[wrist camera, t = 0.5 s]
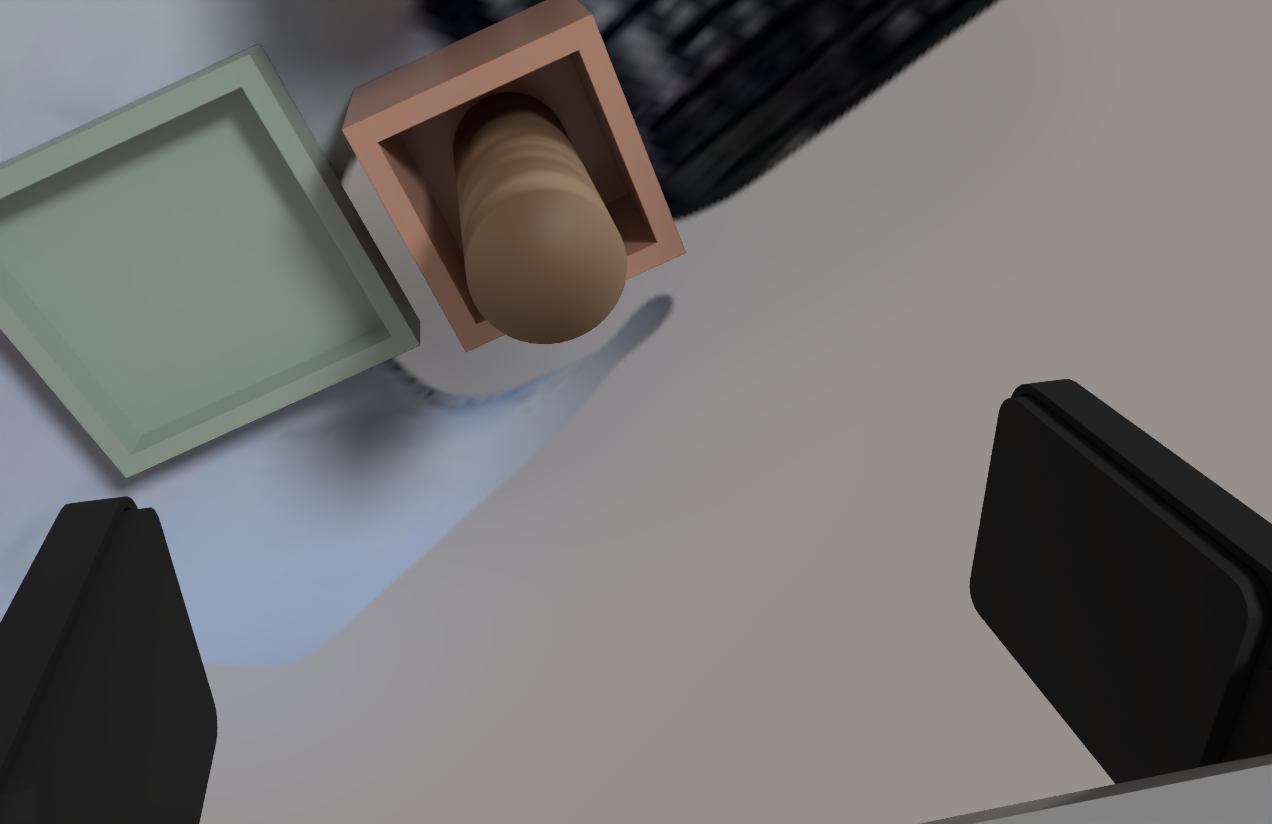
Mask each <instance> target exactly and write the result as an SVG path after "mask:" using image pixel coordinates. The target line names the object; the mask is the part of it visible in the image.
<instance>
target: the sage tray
mask: <svg viewBox="0 0 1272 824" xmlns="http://www.w3.org/2000/svg"><path fill="white" fill-rule="evenodd" d="M0 329H1V330H2V331H3V333H4V334H5V335H6V336H7V337H8V339H9V340H10V341H11V342H12V343H13V345H14V346H15V347H16V348H17V349H18V350H19V352H20V353H21V354H22V355H23V356H24V358H25V359H26V360H27V361H28V362H29V364H30V365H31V366H32V367H33V368H34V369H35V371H36V372H37V373H38V374H39V375H40V377H41V378H42V379H43V380H44V381H45V382H46V384H47V385H48V386H49V387H50V388H51V390H52V391H53V392H54V393H55V394H56V396H57V397H58V398H59V399H60V400H61V401H62V403H63V404H64V405H65V406H66V407H67V409H68V410H69V411H70V412H71V413H72V415H73V416H74V417H75V418H76V419H77V420H78V422H79V423H80V424H81V425H82V426H83V428H84V429H85V430H86V431H87V432H88V434H89V435H90V436H91V437H92V438H93V439H94V441H95V442H96V443H97V444H98V445H99V447H100V448H101V449H102V450H103V451H104V452H105V454H106V455H107V456H108V457H109V458H110V460H111V461H112V462H113V463H114V464H115V466H116V467H117V468H118V469H119V470H120V471H121V473H122V474H123V475H124V476H125V477H126V478H128V477H130V476H133V475H135V474H137V473H139V472H141V471H144V470H146V469H148V468H150V467H152V466H155V465H157V464H159V463H161V462H163V461H166V460H168V459H170V458H172V457H175V456H177V455H179V454H181V453H183V452H186V451H188V450H190V449H192V448H194V447H197V446H199V445H201V444H203V443H205V442H208V441H210V440H212V439H214V438H217V437H219V436H221V435H223V434H225V433H228V432H230V431H232V430H234V429H236V428H239V427H241V426H243V425H245V424H247V423H250V422H252V421H254V420H256V419H258V418H261V417H263V416H265V415H267V414H270V413H272V412H274V411H276V410H278V409H281V408H283V407H285V406H287V405H289V404H292V403H294V402H296V401H298V400H300V399H303V398H305V397H307V396H309V395H311V394H314V393H316V392H318V391H320V390H323V389H325V388H327V387H329V386H331V385H334V384H336V383H338V382H340V381H342V380H345V379H347V378H349V377H351V376H353V375H356V374H358V373H360V372H362V371H364V370H367V369H369V368H371V367H373V366H376V365H378V364H380V363H382V362H384V361H387V360H389V359H391V358H393V357H395V356H398V355H400V354H402V353H404V352H406V351H409V350H411V349H413V348H415V347H418V346H420V320H419V319H418V317H417V315H416V313H415V312H414V310H413V308H412V306H411V305H410V303H409V301H408V299H407V298H406V296H405V294H404V293H403V291H402V289H401V287H400V286H399V284H398V282H397V280H396V279H395V277H394V275H393V274H392V272H391V270H390V268H389V267H388V265H387V263H386V261H385V260H384V258H383V256H382V254H381V253H380V251H379V249H378V247H377V246H376V244H375V242H374V241H373V239H372V237H371V236H370V234H369V232H368V230H367V228H366V227H365V225H364V223H363V221H362V220H361V218H360V216H359V215H358V213H357V211H356V210H355V208H354V206H353V204H352V202H351V201H350V199H349V197H348V196H347V194H346V192H345V190H344V189H343V187H342V185H341V183H340V182H339V180H338V178H337V176H336V175H335V173H334V171H333V169H332V168H331V166H330V164H329V163H328V161H327V159H326V157H325V156H324V154H323V152H322V150H321V149H320V147H319V145H318V143H317V142H316V140H315V138H314V137H313V135H312V133H311V131H310V130H309V128H308V126H307V124H306V123H305V121H304V119H303V117H302V116H301V114H300V112H299V111H298V109H297V107H296V105H295V104H294V102H293V100H292V98H291V97H290V95H289V93H288V91H287V90H286V88H285V86H284V85H283V83H282V81H281V79H280V78H279V76H278V74H277V72H276V71H275V69H274V67H273V65H272V64H271V62H270V60H269V59H268V57H267V55H266V53H265V52H264V50H263V48H262V46H261V45H260V43H259V44H257V45H255V46H252V47H250V48H248V49H246V50H244V51H242V52H239V53H237V54H235V55H233V56H231V57H229V58H227V59H224V60H222V61H220V62H218V63H216V64H214V65H212V66H209V67H207V68H205V69H203V70H201V71H199V72H197V73H194V74H192V75H190V76H188V77H186V78H184V79H181V80H179V81H177V82H175V83H173V84H171V85H169V86H166V87H164V88H162V89H160V90H158V91H156V92H154V93H151V94H149V95H147V96H145V97H143V98H141V99H138V100H136V101H134V102H132V103H130V104H128V105H126V106H123V107H121V108H119V109H117V110H115V111H113V112H111V113H108V114H106V115H104V116H102V117H100V118H98V119H96V120H93V121H91V122H89V123H87V124H85V125H83V126H80V127H78V128H76V129H74V130H72V131H70V132H68V133H65V134H63V135H61V136H59V137H57V138H55V139H53V140H50V141H48V142H46V143H44V144H42V145H40V146H37V147H35V148H33V149H31V150H29V151H27V152H25V153H22V154H20V155H18V156H16V157H14V158H12V159H10V160H7V161H5V162H3V163H1V164H0Z"/></svg>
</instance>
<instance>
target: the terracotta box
mask: <svg viewBox="0 0 1272 824" xmlns="http://www.w3.org/2000/svg"><path fill="white" fill-rule="evenodd" d="M503 92H517V93H523V94H526V95H529V96H532V97H534V98H536V99H538V100H540V101H541V102H543V103H544V104H546V105H547V106H548V107H549V108H550V109H551V110H552V111H553V112H554V113H555V114H556V116H557V117H558V119H559V120H560V122H561V124H562V126H563V128H564V129H565V131H566V133H567V135H568V137H569V139H570V141H571V143H572V144H573V146H574V148H575V150H576V152H577V154H578V156H579V158H580V160H581V161H582V163H583V165H584V167H585V169H586V171H587V173H588V175H589V177H590V178H591V180H592V182H593V184H594V186H595V188H596V190H597V192H598V194H599V195H600V197H601V199H602V201H603V203H604V205H605V207H606V209H607V210H608V212H609V214H610V216H611V218H612V220H613V222H614V224H615V226H616V227H617V229H618V231H619V233H620V235H621V237H622V240H623V243H624V246H625V251H626V256H627V275H626V280H627V279H629V278H631V277H633V276H636V275H638V274H640V273H643V272H645V271H647V270H649V269H651V268H653V267H656V266H658V265H660V264H662V263H665V262H667V261H669V260H671V259H674V258H676V257H678V256H680V255H682V254H685V253H686V251H685V249H684V246H683V244H682V241H681V238H680V236H679V233H678V231H677V228H676V226H675V223H674V221H673V218H672V216H671V213H670V211H669V208H668V205H667V203H666V200H665V198H664V195H663V193H662V190H661V188H660V185H659V183H658V180H657V178H656V175H655V172H654V170H653V167H652V165H651V162H650V160H649V157H648V155H647V152H646V150H645V147H644V145H643V142H642V139H641V137H640V134H639V132H638V129H637V127H636V124H635V122H634V119H633V117H632V114H631V112H630V109H629V106H628V104H627V101H626V99H625V96H624V94H623V91H622V89H621V86H620V84H619V81H618V79H617V76H616V74H615V71H614V68H613V66H612V63H611V61H610V58H609V56H608V53H607V51H606V48H605V46H604V43H603V41H602V38H601V35H600V33H599V30H598V28H597V25H596V23H595V20H594V18H593V15H592V14H591V13H590V12H589V11H588V10H587V9H586V8H585V7H584V6H582V5H581V4H580V3H579V2H578V1H577V0H546V1H543V2H541V3H539V4H537V5H535V6H533V7H530V8H528V9H526V10H524V11H522V12H520V13H517V14H515V15H513V16H511V17H509V18H507V19H504V20H502V21H500V22H498V23H496V24H494V25H492V26H489V27H487V28H485V29H483V30H481V31H479V32H476V33H474V34H472V35H470V36H468V37H466V38H463V39H461V40H459V41H457V42H455V43H453V44H450V45H448V46H446V47H444V48H442V49H440V50H437V51H435V52H433V53H431V54H429V55H427V56H424V57H422V58H420V59H418V60H416V61H414V62H411V63H409V64H407V65H405V66H403V67H401V68H398V69H396V70H394V71H392V72H390V73H388V74H386V75H383V76H381V77H379V78H377V79H375V80H373V81H370V82H368V83H366V84H364V85H362V86H360V87H357V88H355V89H354V91H353V94H352V98H351V101H350V104H349V107H348V111H347V114H346V117H345V120H344V124H343V127H342V131H343V133H344V135H345V136H346V138H347V140H348V142H349V144H350V145H351V147H352V149H353V151H354V153H355V154H356V156H357V158H358V160H359V162H360V163H361V165H362V167H363V169H364V170H365V172H366V174H367V176H368V178H369V179H370V181H371V183H372V185H373V186H374V188H375V190H376V192H377V194H378V196H379V197H380V199H381V201H382V202H383V204H384V206H385V208H386V210H387V212H388V213H389V215H390V217H391V219H392V220H393V222H394V224H395V226H396V228H397V229H398V231H399V233H400V235H401V236H402V238H403V240H404V242H405V244H406V246H407V247H408V249H409V251H410V253H411V254H412V256H413V258H414V260H415V261H416V263H417V265H418V267H419V269H420V270H421V272H422V274H423V276H424V278H425V279H426V281H427V283H428V285H429V287H430V288H431V290H432V292H433V294H434V296H435V297H436V299H437V301H438V302H439V305H440V306H441V308H442V310H443V312H444V314H445V315H446V317H447V319H448V321H449V323H450V324H451V326H452V328H453V330H454V331H455V333H456V335H457V337H458V339H459V340H460V342H461V344H462V346H463V348H464V349H465V351H466V352H468V351H470V350H472V349H474V348H477V347H479V346H481V345H483V344H485V343H488V342H490V341H492V340H494V339H496V338H498V337H501V336H503V335H505V334H504V333H502V332H501V331H499V330H498V329H496V328H495V327H493V326H492V325H491V324H490V323H489V322H488V321H487V320H486V319H485V318H484V317H483V316H482V314H481V313H480V312H479V310H478V309H477V307H476V306H475V304H474V302H473V300H472V298H471V295H470V292H469V289H468V286H467V280H466V272H465V262H464V252H463V243H462V233H461V223H460V214H459V204H458V194H457V184H456V175H455V165H454V155H453V143H454V136H455V132H456V129H457V127H458V124H459V122H460V121H461V119H462V117H463V116H464V115H465V113H466V112H467V111H468V110H469V109H470V108H471V107H472V106H473V105H474V104H476V103H477V102H478V101H480V100H482V99H483V98H485V97H488V96H490V95H493V94H497V93H503Z"/></svg>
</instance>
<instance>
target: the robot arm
mask: <svg viewBox="0 0 1272 824" xmlns="http://www.w3.org/2000/svg"><path fill="white" fill-rule="evenodd" d="M970 594H971V598H972V602H973V604H974V607H975V609H976V610H977V612H978V613H979V615H980V616H981V617H982V619H983V620H984V621H985V622H986V624H987V625H988V626H989V627H990V629H991V630H992V631H993V632H994V634H995V635H996V636H997V637H998V639H999V640H1000V641H1001V642H1002V643H1003V645H1004V646H1005V647H1006V649H1007V650H1008V651H1009V652H1010V653H1011V655H1012V656H1013V657H1014V658H1015V660H1016V661H1017V662H1018V663H1019V664H1020V666H1021V667H1022V668H1023V670H1024V671H1025V672H1026V673H1027V675H1028V676H1029V677H1030V678H1031V679H1032V681H1033V682H1034V683H1035V684H1036V686H1037V687H1038V688H1039V689H1040V691H1041V692H1042V693H1043V694H1044V696H1045V697H1046V698H1047V699H1048V701H1049V702H1050V703H1051V704H1052V705H1053V707H1054V708H1055V709H1056V711H1057V712H1058V713H1059V714H1060V715H1061V717H1062V718H1063V719H1064V720H1065V722H1066V723H1067V724H1068V725H1069V727H1070V728H1071V729H1072V730H1073V732H1074V733H1075V734H1076V735H1077V737H1078V738H1079V739H1080V740H1081V741H1082V743H1083V744H1084V745H1085V747H1086V748H1087V749H1088V750H1089V751H1090V753H1091V754H1092V755H1093V757H1094V758H1095V759H1096V760H1097V761H1098V763H1099V764H1100V765H1101V766H1102V768H1103V769H1104V770H1105V771H1106V772H1107V774H1108V775H1109V776H1110V778H1111V779H1112V780H1113V781H1114V783H1115V784H1114V785H1109V786H1104V787H1100V788H1094V789H1089V790H1084V791H1079V792H1074V793H1069V794H1064V795H1059V796H1054V797H1049V798H1044V799H1039V800H1034V801H1029V802H1025V803H1019V804H1014V805H1009V806H1004V807H1000V808H994V809H989V810H984V811H980V812H975V813H970V814H965V815H960V816H955V817H950V818H946V819H941V820H936V821H931V822H927V823H921V824H1272V524H1271V523H1270V522H1268V521H1267V520H1265V519H1264V518H1263V517H1261V516H1260V515H1259V514H1257V513H1256V512H1254V511H1253V510H1252V509H1250V508H1249V507H1248V506H1246V505H1245V504H1243V503H1242V502H1241V501H1239V500H1238V499H1236V498H1235V497H1234V496H1232V495H1231V494H1230V493H1228V492H1227V491H1225V490H1224V489H1223V488H1221V487H1220V486H1219V485H1217V484H1216V483H1214V482H1213V481H1212V480H1210V479H1209V478H1207V477H1206V476H1205V475H1203V474H1202V473H1200V472H1199V471H1198V470H1196V469H1195V468H1194V467H1192V466H1191V465H1190V464H1188V463H1186V462H1185V461H1184V460H1182V459H1181V458H1180V457H1179V456H1177V455H1176V454H1174V453H1173V452H1172V451H1170V450H1169V449H1167V448H1166V447H1164V446H1163V445H1162V444H1161V443H1159V442H1158V441H1156V440H1155V439H1154V438H1152V437H1151V436H1150V435H1148V434H1147V433H1145V432H1144V431H1143V430H1141V429H1140V428H1138V427H1137V426H1136V425H1134V424H1133V423H1132V422H1130V421H1129V420H1127V419H1126V418H1125V417H1123V416H1122V415H1121V414H1119V413H1118V412H1116V411H1115V410H1114V409H1112V408H1111V407H1109V406H1108V405H1107V404H1105V403H1104V402H1103V401H1101V400H1100V399H1098V398H1097V397H1096V396H1094V395H1093V394H1092V393H1090V392H1089V391H1087V390H1086V389H1085V388H1083V387H1082V386H1080V385H1079V384H1078V383H1076V382H1074V381H1072V380H1070V379H1064V380H1063V379H1062V380H1055V381H1046V382H1039V383H1031V384H1022V385H1020V386H1019V387H1017V388H1016V389H1015V391H1014V392H1013V394H1012V396H1011V398H1008V399H1006V400H1005V401H1004V402H1003V403H1002V405H1001V407H1000V410H999V415H998V420H997V426H996V432H995V438H994V444H993V449H992V455H991V461H990V467H989V473H988V478H987V484H986V491H985V496H984V502H983V507H982V513H981V519H980V526H979V531H978V537H977V542H976V548H975V554H974V560H973V566H972V572H971V577H970ZM216 739H217V715H216V708H215V704H214V700H213V697H212V693H211V690H210V687H209V683H208V680H207V677H206V673H205V670H204V666H203V663H202V660H201V656H200V653H199V650H198V646H197V643H196V640H195V636H194V633H193V630H192V626H191V623H190V620H189V616H188V613H187V610H186V606H185V603H184V600H183V596H182V593H181V590H180V586H179V583H178V580H177V576H176V573H175V570H174V566H173V563H172V560H171V556H170V553H169V550H168V546H167V543H166V540H165V536H164V533H163V530H162V526H161V523H160V520H159V517H158V515H157V513H156V512H155V510H154V509H153V508H143V509H138V508H137V506H136V504H135V503H134V501H133V500H132V499H131V498H130V497H128V496H125V497H117V498H109V499H101V500H93V501H85V502H77V503H70V504H66V505H65V506H64V507H63V508H62V509H61V511H60V512H59V514H58V516H57V518H56V520H55V522H54V524H53V525H52V527H51V529H50V531H49V533H48V535H47V537H46V539H45V540H44V542H43V544H42V546H41V548H40V550H39V552H38V554H37V555H36V557H35V559H34V561H33V563H32V565H31V567H30V568H29V570H28V572H27V574H26V576H25V578H24V580H23V582H22V583H21V585H20V587H19V589H18V591H17V593H16V595H15V596H14V598H13V600H12V602H11V604H10V606H9V608H8V610H7V611H6V613H5V615H4V617H3V619H2V621H1V623H0V824H199V822H200V817H201V812H202V808H203V803H204V798H205V793H206V788H207V784H208V779H209V774H210V769H211V764H212V760H213V755H214V750H215V745H216Z"/></svg>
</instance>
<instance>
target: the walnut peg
mask: <svg viewBox="0 0 1272 824" xmlns="http://www.w3.org/2000/svg"><path fill="white" fill-rule="evenodd" d="M453 155H454V165H455V175H456V184H457V194H458V204H459V214H460V223H461V233H462V243H463V252H464V262H465V272H466V280H467V286H468V289H469V292H470V295H471V298H472V300H473V302H474V304H475V306H476V307H477V309H478V310H479V312H480V313H481V314H482V316H483V317H484V318H485V319H486V320H487V321H488V322H489V323H490V324H491V325H492V326H493V327H495V328H496V329H498V330H499V331H501V332H502V333H504V334H506V335H508V336H510V337H512V338H515V339H517V340H520V341H524V342H529V343H536V344H553V343H560V342H564V341H568V340H571V339H574V338H577V337H579V336H581V335H583V334H585V333H587V332H588V331H590V330H592V329H593V328H595V327H596V326H597V325H598V324H600V323H601V322H602V321H603V320H604V319H605V318H606V317H607V316H608V315H609V313H610V312H611V311H612V309H613V308H614V306H615V305H616V304H617V302H618V300H619V298H620V296H621V294H622V291H623V288H624V285H625V280H626V275H627V256H626V251H625V246H624V243H623V240H622V237H621V235H620V233H619V231H618V229H617V227H616V226H615V224H614V222H613V220H612V218H611V216H610V214H609V212H608V210H607V209H606V207H605V205H604V203H603V201H602V199H601V197H600V195H599V194H598V192H597V190H596V188H595V186H594V184H593V182H592V180H591V178H590V177H589V175H588V173H587V171H586V169H585V167H584V165H583V163H582V161H581V160H580V158H579V156H578V154H577V152H576V150H575V148H574V146H573V144H572V143H571V141H570V139H569V137H568V135H567V133H566V131H565V129H564V128H563V126H562V124H561V122H560V120H559V119H558V117H557V116H556V114H555V113H554V112H553V111H552V110H551V109H550V108H549V107H548V106H547V105H546V104H544V103H543V102H541V101H540V100H538V99H536V98H534V97H532V96H529V95H526V94H523V93H517V92H503V93H497V94H493V95H490V96H488V97H485V98H483V99H482V100H480V101H478V102H477V103H476V104H474V105H473V106H472V107H471V108H470V109H469V110H468V111H467V112H466V113H465V115H464V116H463V117H462V119H461V121H460V122H459V124H458V127H457V129H456V132H455V136H454V143H453Z"/></svg>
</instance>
